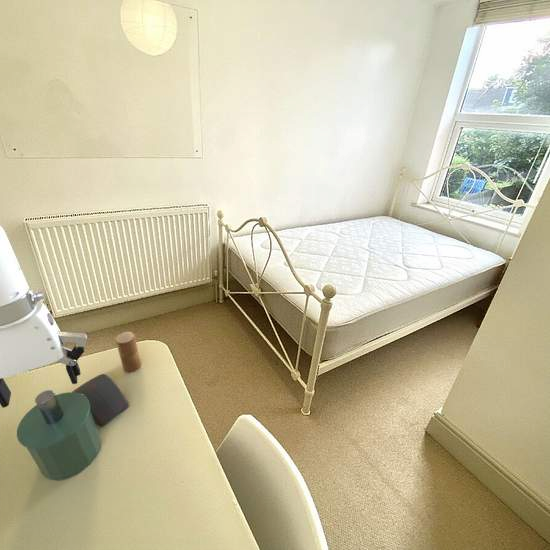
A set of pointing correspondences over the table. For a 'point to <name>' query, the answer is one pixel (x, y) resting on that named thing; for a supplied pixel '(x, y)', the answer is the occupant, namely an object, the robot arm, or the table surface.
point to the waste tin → (69, 453)
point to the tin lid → (53, 419)
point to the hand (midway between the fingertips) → (42, 389)
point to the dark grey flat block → (103, 398)
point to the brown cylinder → (128, 351)
